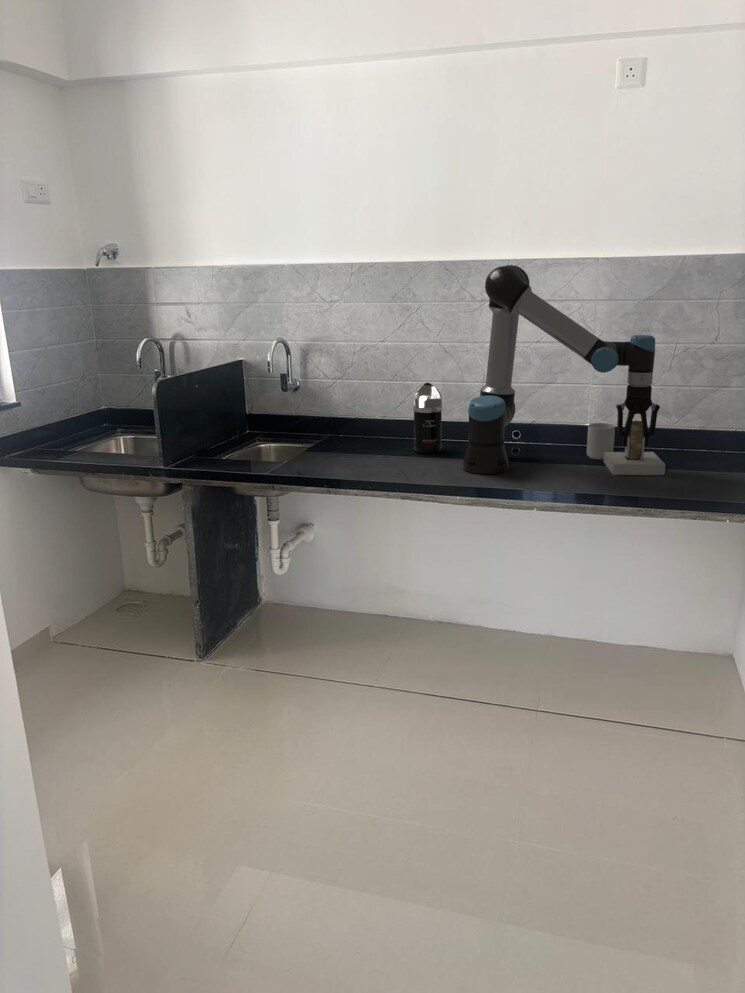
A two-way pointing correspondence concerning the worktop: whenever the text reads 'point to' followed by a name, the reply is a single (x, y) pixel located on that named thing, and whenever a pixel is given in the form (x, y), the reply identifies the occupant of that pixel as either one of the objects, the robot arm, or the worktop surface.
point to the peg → (635, 440)
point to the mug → (600, 440)
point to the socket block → (634, 464)
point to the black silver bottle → (427, 419)
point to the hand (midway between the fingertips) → (633, 456)
